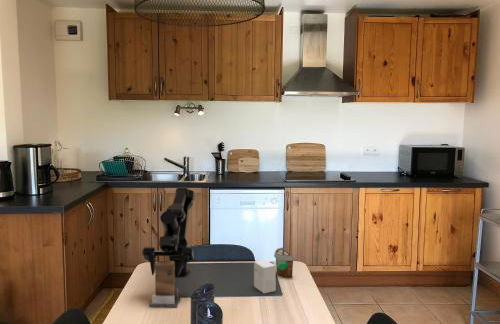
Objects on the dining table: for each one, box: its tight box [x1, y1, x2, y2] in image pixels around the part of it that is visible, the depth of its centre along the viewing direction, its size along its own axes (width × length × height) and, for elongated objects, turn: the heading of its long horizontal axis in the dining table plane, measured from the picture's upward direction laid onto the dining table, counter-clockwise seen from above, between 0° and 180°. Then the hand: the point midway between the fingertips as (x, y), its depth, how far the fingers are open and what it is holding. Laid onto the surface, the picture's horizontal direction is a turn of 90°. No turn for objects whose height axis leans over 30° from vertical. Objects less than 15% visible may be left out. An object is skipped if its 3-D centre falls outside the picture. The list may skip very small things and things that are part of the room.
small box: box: [253, 259, 277, 294], centre depth 164 cm, size 8×6×10 cm
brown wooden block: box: [154, 261, 176, 295], centre depth 150 cm, size 4×6×14 cm, turn 88°
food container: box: [273, 247, 295, 278], centre depth 179 cm, size 12×6×10 cm, turn 17°
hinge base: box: [148, 287, 182, 309], centre depth 151 cm, size 8×10×4 cm
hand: (165, 275), depth 151 cm, fingers open, 9 cm apart
